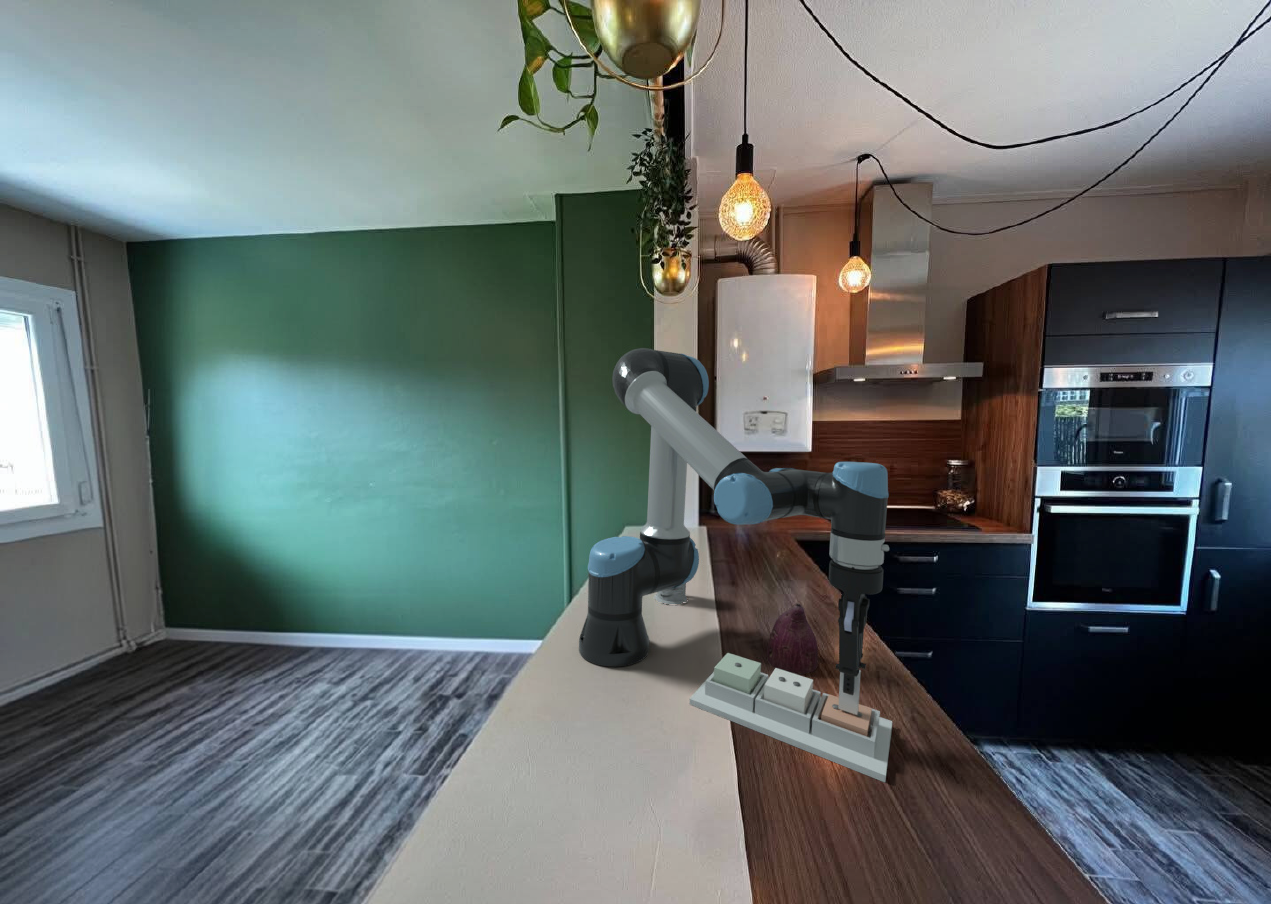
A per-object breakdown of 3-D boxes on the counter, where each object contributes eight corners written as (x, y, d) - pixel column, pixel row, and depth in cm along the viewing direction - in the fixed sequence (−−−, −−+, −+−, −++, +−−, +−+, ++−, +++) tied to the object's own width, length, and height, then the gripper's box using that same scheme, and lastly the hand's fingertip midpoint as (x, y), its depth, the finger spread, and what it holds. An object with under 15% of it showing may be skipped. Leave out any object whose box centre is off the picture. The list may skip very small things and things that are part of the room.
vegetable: (818, 690, 89) (837, 629, 84) (765, 677, 91) (780, 616, 86) (811, 653, 99) (828, 596, 94) (763, 641, 101) (777, 585, 96)
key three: (820, 732, 70) (821, 713, 70) (828, 711, 75) (829, 693, 75) (866, 749, 67) (867, 729, 66) (870, 726, 72) (871, 707, 72)
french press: (651, 592, 130) (653, 507, 129) (690, 591, 132) (693, 507, 130) (656, 605, 121) (659, 514, 119) (698, 605, 122) (701, 514, 120)
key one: (713, 683, 80) (714, 666, 80) (727, 668, 85) (727, 651, 85) (748, 696, 76) (749, 678, 76) (760, 679, 82) (761, 662, 81)
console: (689, 704, 78) (690, 684, 78) (720, 668, 90) (721, 651, 90) (885, 782, 62) (886, 758, 62) (891, 727, 74) (893, 706, 73)
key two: (763, 702, 75) (764, 683, 75) (774, 684, 80) (775, 666, 80) (803, 716, 71) (804, 697, 71) (812, 696, 77) (813, 678, 77)
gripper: (879, 578, 62) (870, 742, 63) (886, 556, 73) (879, 697, 74) (821, 568, 66) (814, 722, 67) (836, 549, 77) (830, 682, 78)
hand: (848, 709), depth 71 cm, fingers closed
